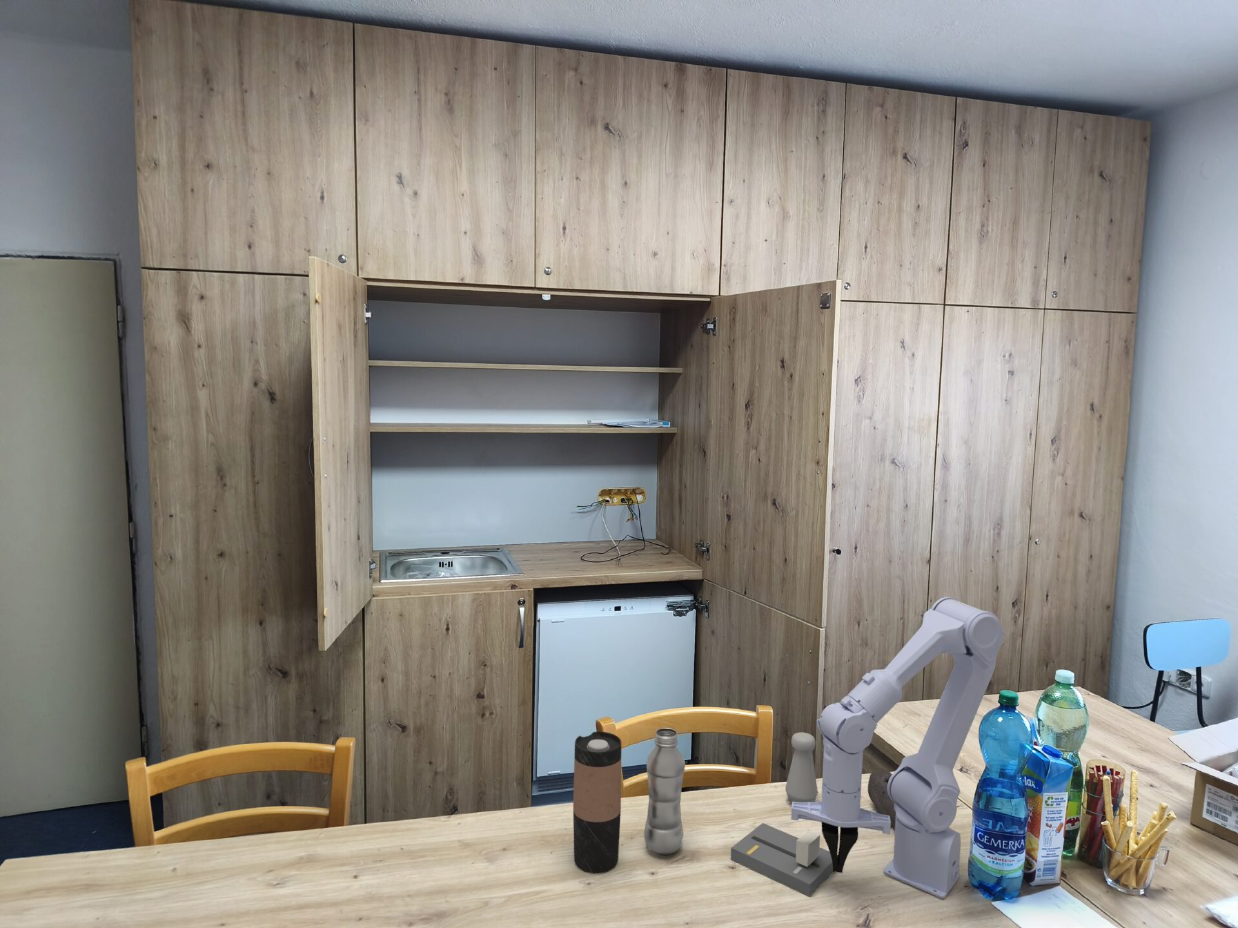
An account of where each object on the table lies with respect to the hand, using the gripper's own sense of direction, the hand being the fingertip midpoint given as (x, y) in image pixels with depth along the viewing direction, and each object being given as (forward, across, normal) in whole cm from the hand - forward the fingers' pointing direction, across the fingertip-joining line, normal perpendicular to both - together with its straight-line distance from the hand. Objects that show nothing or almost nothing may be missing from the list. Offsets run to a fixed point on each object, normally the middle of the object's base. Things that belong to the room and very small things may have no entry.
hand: (837, 868), depth 120 cm
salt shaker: (+3, +6, -24) cm, 25 cm away
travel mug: (+3, +38, +4) cm, 38 cm away
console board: (+3, +8, -4) cm, 10 cm away
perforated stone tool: (+3, -11, -22) cm, 24 cm away
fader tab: (+1, +4, -2) cm, 5 cm away
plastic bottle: (+3, +28, -3) cm, 28 cm away
